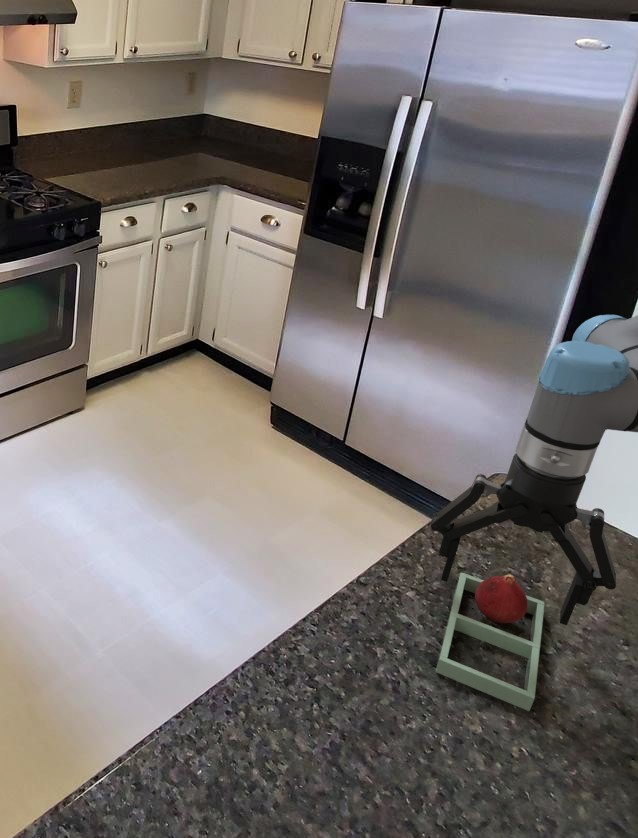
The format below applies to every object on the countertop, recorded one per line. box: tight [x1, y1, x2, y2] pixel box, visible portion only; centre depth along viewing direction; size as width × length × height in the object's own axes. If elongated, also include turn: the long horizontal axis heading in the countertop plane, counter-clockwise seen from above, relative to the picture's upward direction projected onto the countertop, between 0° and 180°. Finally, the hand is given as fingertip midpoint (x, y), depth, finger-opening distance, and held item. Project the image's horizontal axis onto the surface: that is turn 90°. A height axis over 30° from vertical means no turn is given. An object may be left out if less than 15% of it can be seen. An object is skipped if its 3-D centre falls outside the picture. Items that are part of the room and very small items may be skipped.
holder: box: [435, 572, 545, 712], centre depth 105 cm, size 19×10×3 cm, turn 144°
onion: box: [474, 573, 528, 624], centre depth 107 cm, size 6×6×8 cm
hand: (502, 596), depth 106 cm, fingers open, 13 cm apart
